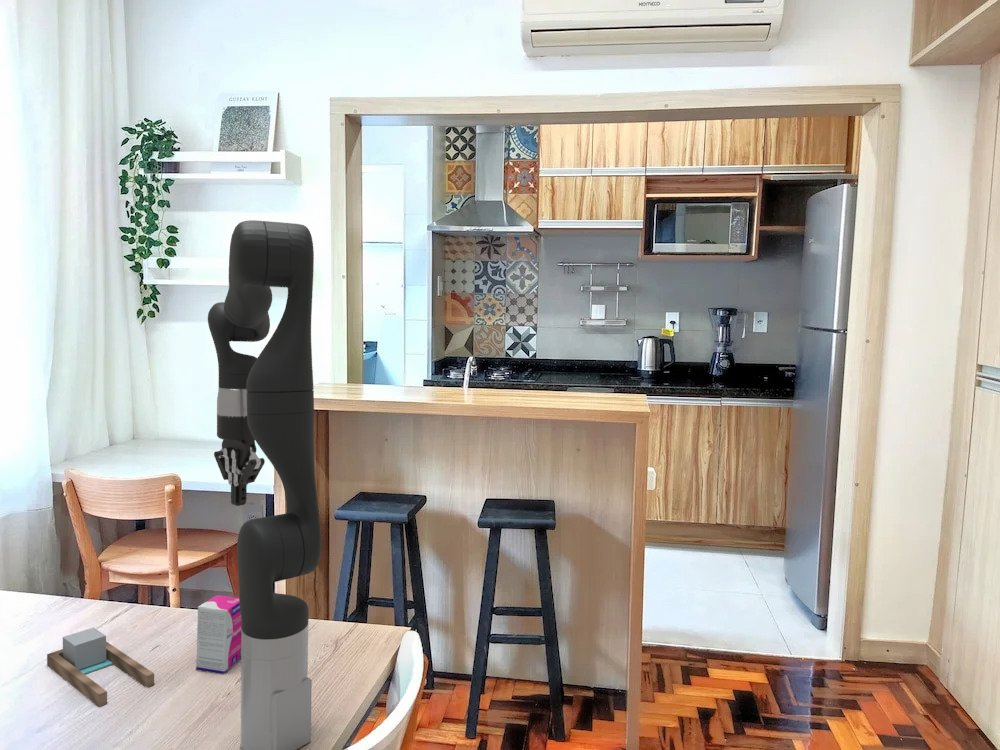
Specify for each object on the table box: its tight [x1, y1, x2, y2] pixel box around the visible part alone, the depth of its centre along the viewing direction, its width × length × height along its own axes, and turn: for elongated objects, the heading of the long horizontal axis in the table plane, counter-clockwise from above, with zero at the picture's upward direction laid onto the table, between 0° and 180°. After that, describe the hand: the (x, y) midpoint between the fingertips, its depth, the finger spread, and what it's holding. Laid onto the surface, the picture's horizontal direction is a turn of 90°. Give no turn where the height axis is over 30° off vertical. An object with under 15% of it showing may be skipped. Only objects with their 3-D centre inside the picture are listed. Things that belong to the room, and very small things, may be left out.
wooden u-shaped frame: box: [46, 641, 155, 708], centre depth 116 cm, size 20×9×2 cm, turn 53°
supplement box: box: [195, 594, 242, 675], centre depth 121 cm, size 6×6×12 cm
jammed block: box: [62, 627, 107, 670], centre depth 120 cm, size 5×5×4 cm
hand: (238, 504), depth 127 cm, fingers closed
